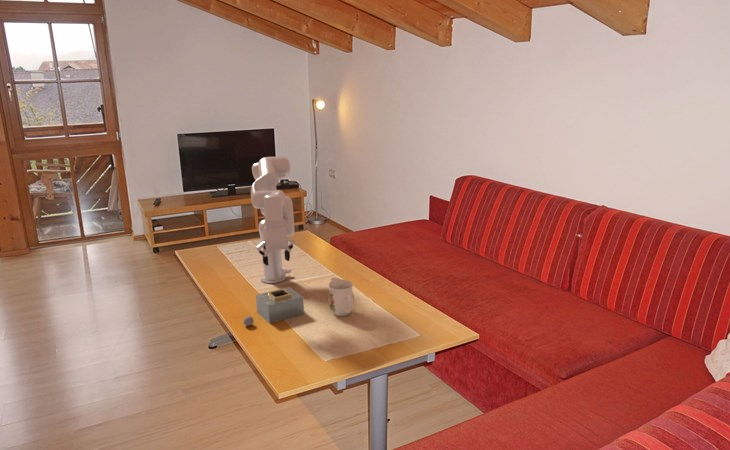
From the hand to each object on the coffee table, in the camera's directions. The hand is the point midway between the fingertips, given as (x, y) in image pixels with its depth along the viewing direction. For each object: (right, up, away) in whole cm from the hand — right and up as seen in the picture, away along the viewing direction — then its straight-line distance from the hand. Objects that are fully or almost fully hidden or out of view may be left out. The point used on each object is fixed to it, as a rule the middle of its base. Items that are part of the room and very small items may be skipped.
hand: (276, 262), depth 231 cm
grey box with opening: (+1, -22, +6) cm, 23 cm away
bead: (-11, -22, -7) cm, 25 cm away
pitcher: (+28, -23, +4) cm, 36 cm away
